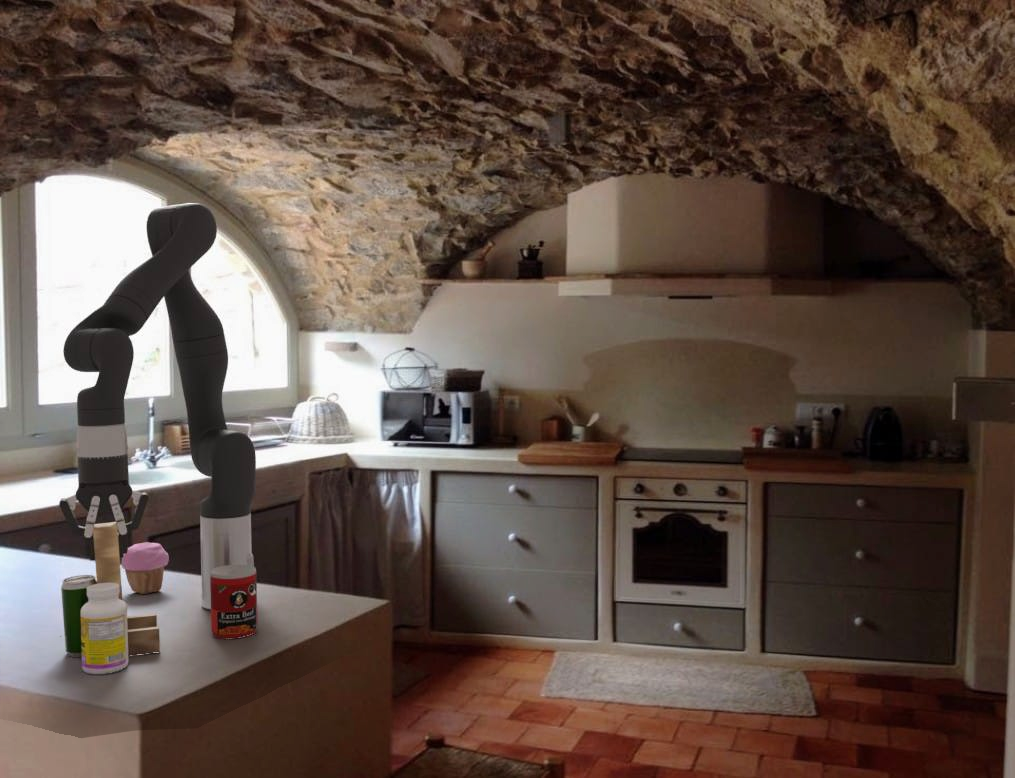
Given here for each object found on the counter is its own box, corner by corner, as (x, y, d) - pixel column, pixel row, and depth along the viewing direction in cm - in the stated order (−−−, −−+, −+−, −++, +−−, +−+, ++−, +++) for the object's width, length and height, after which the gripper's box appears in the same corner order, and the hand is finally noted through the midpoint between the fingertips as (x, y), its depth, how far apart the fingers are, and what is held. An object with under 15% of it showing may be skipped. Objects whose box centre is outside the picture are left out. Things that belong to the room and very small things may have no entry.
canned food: (216, 642, 166) (215, 577, 165) (207, 629, 173) (205, 567, 172) (262, 635, 169) (261, 571, 169) (251, 623, 176) (250, 562, 176)
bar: (124, 635, 164) (116, 521, 163) (125, 641, 161) (117, 525, 160) (101, 638, 163) (93, 524, 162) (101, 645, 160) (93, 528, 158)
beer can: (68, 660, 157) (63, 585, 156) (63, 651, 161) (58, 578, 161) (104, 652, 160) (99, 579, 159) (99, 644, 164) (94, 572, 163)
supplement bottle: (90, 662, 156) (88, 581, 155) (133, 660, 157) (132, 580, 156) (75, 676, 149) (73, 592, 149) (121, 675, 150) (119, 591, 149)
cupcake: (177, 590, 200) (176, 541, 199) (139, 600, 192) (138, 549, 192) (151, 584, 205) (149, 536, 204) (112, 593, 198) (111, 543, 197)
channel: (156, 636, 169) (156, 613, 169) (159, 652, 160) (159, 628, 160) (92, 643, 165) (92, 620, 165) (92, 660, 156) (91, 635, 156)
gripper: (148, 447, 166) (152, 549, 167) (55, 452, 161) (59, 557, 162) (150, 452, 159) (154, 558, 160) (53, 458, 154) (57, 567, 155)
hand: (106, 557), depth 161 cm, fingers closed on bar, 3 cm apart
